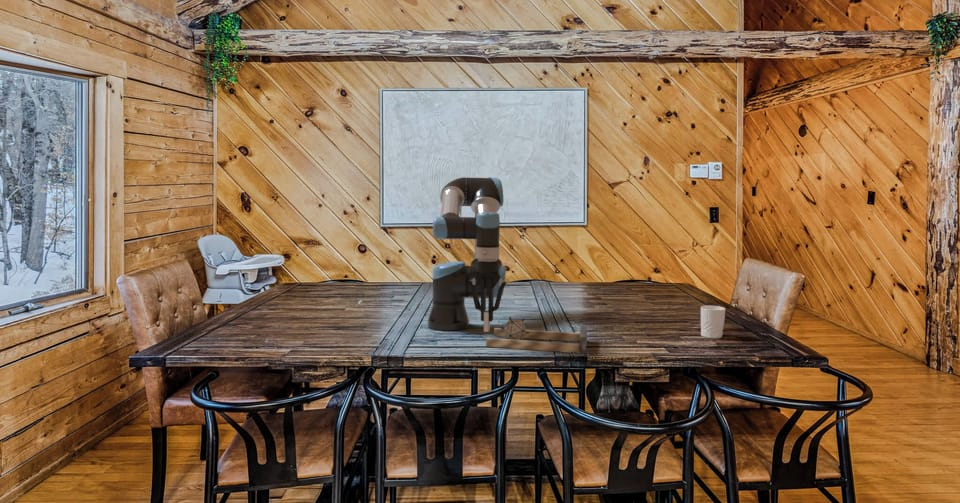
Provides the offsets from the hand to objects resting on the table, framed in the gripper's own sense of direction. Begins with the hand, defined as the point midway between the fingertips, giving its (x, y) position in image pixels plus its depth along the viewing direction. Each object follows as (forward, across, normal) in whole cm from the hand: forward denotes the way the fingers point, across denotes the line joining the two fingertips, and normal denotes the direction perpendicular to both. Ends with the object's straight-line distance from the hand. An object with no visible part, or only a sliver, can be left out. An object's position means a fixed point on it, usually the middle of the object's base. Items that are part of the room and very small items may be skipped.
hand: (486, 330), depth 185 cm
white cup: (+4, +74, +26) cm, 79 cm away
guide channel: (+3, +16, 0) cm, 17 cm away
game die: (+4, +9, 0) cm, 10 cm away
